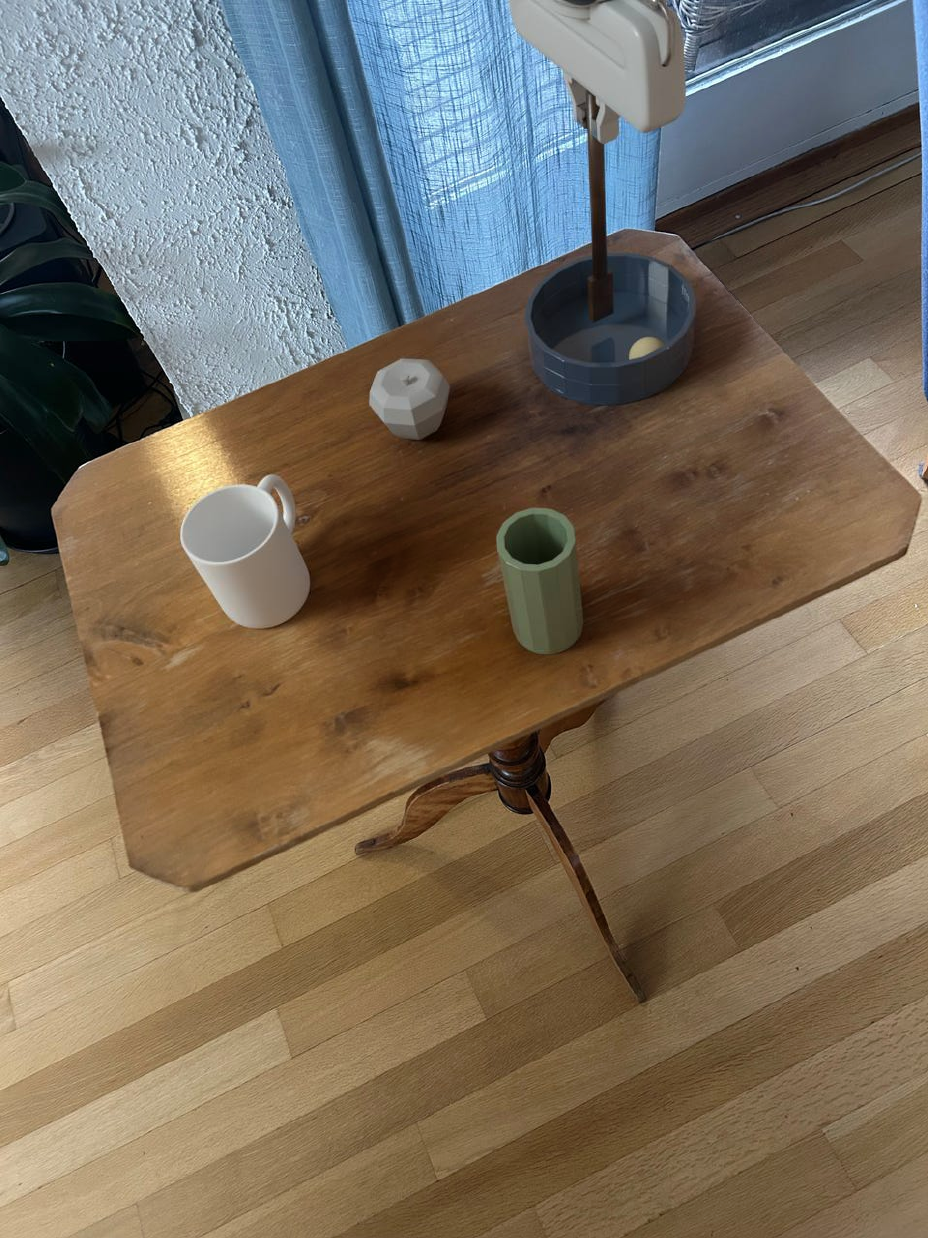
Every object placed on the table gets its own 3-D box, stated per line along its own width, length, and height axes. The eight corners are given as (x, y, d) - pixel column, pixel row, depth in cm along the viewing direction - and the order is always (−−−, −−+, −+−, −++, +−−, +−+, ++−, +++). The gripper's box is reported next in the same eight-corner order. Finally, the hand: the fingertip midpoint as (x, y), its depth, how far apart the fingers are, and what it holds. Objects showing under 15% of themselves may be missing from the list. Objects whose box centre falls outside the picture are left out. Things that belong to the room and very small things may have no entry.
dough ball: (643, 337, 97) (670, 330, 94) (651, 374, 97) (678, 368, 94) (617, 344, 95) (644, 337, 92) (625, 381, 96) (652, 376, 93)
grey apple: (462, 446, 95) (452, 396, 90) (383, 464, 95) (367, 415, 90) (450, 388, 100) (439, 338, 94) (374, 406, 100) (359, 356, 94)
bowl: (634, 271, 105) (634, 230, 101) (726, 357, 96) (730, 317, 92) (501, 336, 103) (495, 297, 98) (584, 430, 94) (581, 392, 90)
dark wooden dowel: (608, 307, 99) (602, 71, 79) (615, 314, 98) (611, 78, 79) (587, 317, 99) (576, 82, 79) (595, 324, 98) (585, 90, 78)
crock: (559, 584, 85) (549, 495, 75) (596, 634, 82) (590, 547, 72) (500, 616, 84) (482, 529, 74) (536, 667, 81) (521, 584, 71)
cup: (207, 620, 88) (161, 552, 80) (265, 517, 94) (229, 444, 86) (288, 641, 86) (250, 573, 77) (343, 533, 91) (313, 460, 83)
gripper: (714, -16, 66) (702, 173, 77) (555, -113, 77) (566, 65, 88) (633, 19, 65) (633, 206, 76) (484, -84, 76) (504, 93, 87)
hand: (596, 130), depth 82 cm, fingers closed on dark wooden dowel, 1 cm apart
